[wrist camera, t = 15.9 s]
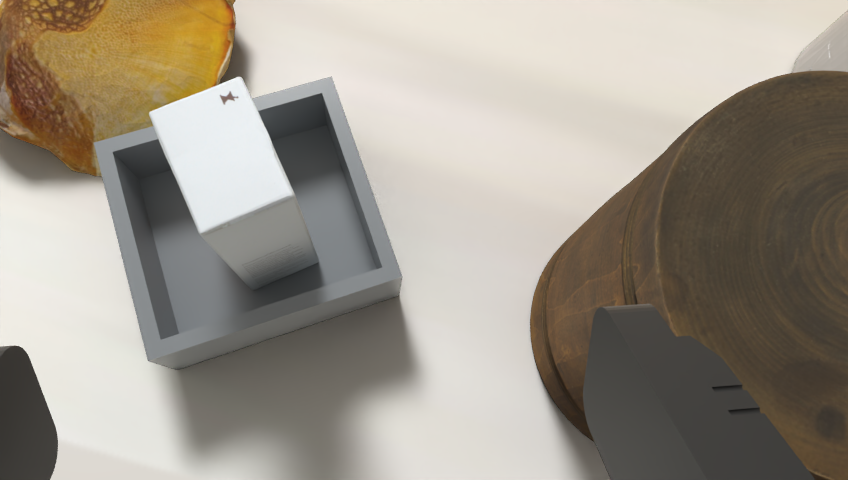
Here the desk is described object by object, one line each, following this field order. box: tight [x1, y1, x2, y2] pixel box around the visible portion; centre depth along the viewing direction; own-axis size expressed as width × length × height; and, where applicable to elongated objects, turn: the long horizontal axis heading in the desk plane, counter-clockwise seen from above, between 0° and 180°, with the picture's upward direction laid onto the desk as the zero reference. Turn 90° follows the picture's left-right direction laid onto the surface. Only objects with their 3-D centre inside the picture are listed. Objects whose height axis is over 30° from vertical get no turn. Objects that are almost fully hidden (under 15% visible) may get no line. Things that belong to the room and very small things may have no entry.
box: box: [94, 77, 402, 370], centre depth 37 cm, size 13×12×5 cm
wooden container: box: [530, 70, 848, 480], centre depth 29 cm, size 15×15×22 cm
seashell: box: [0, 0, 236, 177], centre depth 40 cm, size 17×8×15 cm
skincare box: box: [149, 77, 319, 290], centre depth 33 cm, size 6×4×12 cm
